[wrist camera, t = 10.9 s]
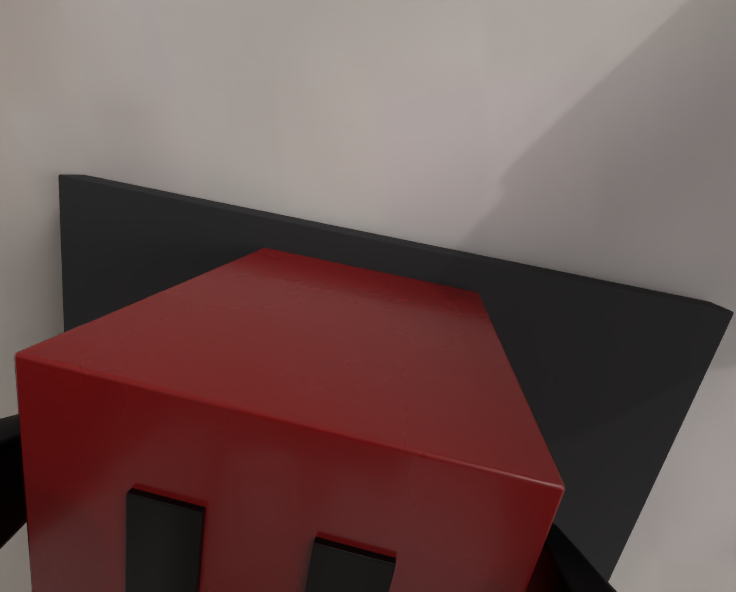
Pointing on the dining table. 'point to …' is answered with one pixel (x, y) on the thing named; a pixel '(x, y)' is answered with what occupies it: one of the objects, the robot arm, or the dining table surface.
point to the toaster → (283, 440)
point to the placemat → (455, 269)
